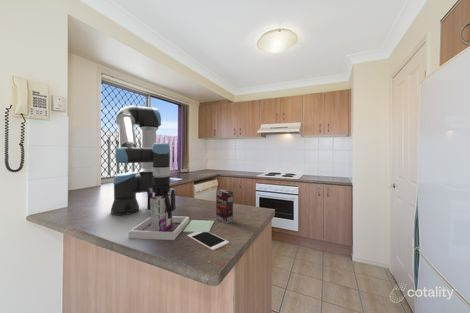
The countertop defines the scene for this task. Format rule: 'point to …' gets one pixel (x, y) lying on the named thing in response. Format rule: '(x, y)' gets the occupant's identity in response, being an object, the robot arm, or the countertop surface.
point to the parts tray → (140, 234)
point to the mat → (199, 226)
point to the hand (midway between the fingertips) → (161, 224)
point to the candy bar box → (159, 213)
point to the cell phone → (208, 240)
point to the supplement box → (224, 206)
